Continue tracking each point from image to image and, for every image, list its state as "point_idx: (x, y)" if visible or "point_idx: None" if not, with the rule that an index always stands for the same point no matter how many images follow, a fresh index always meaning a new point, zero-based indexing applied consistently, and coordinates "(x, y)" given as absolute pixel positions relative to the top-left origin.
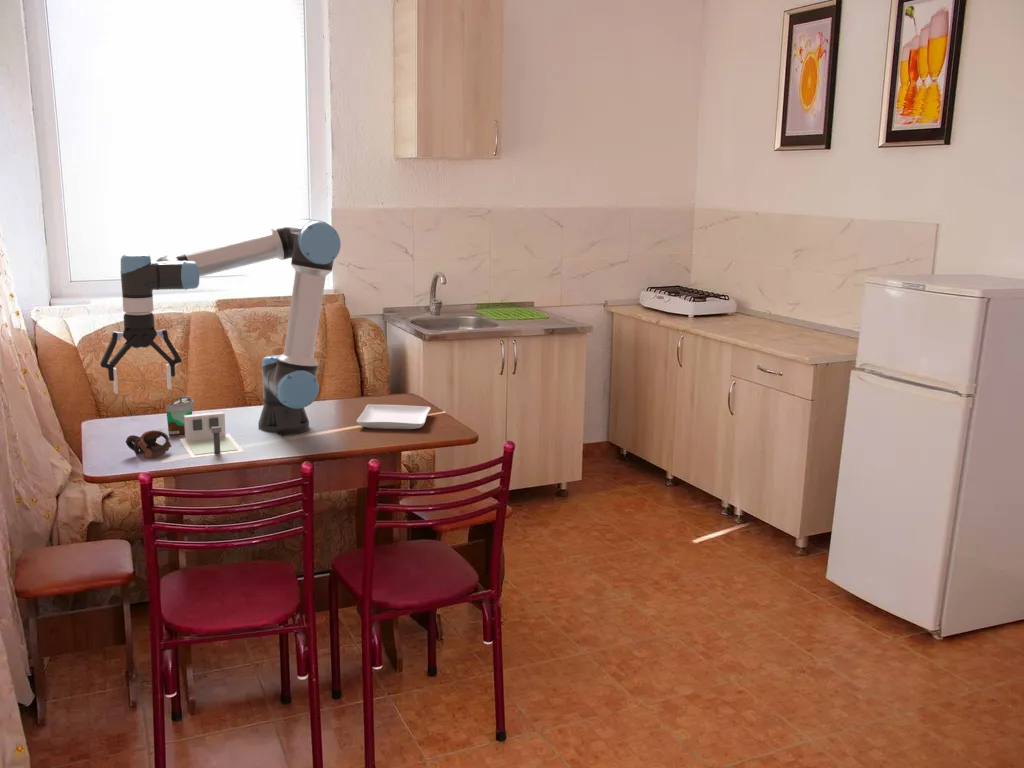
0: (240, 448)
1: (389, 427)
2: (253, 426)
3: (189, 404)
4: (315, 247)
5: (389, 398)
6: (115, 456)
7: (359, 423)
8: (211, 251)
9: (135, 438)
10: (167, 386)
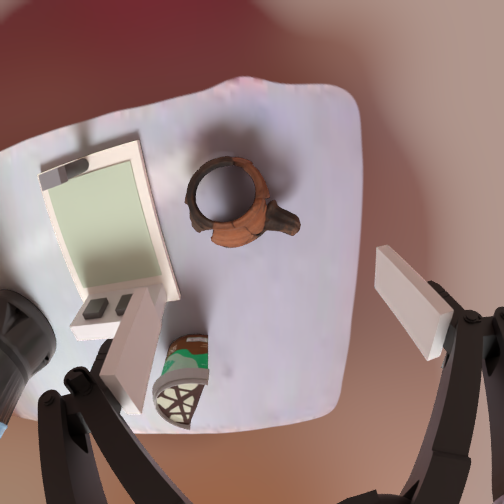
0: (45, 199)
1: None
2: (69, 354)
3: (157, 388)
4: None
5: None
6: (315, 219)
7: None
8: None
9: (277, 214)
10: (159, 324)
